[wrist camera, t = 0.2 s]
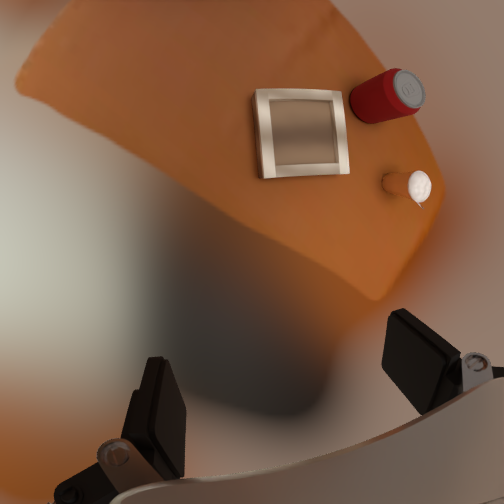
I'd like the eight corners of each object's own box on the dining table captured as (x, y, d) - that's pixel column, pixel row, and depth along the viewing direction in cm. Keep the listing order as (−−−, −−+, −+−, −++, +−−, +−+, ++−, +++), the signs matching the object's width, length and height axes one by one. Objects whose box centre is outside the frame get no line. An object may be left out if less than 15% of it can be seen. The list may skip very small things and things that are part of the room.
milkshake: (374, 195, 42) (412, 202, 32) (382, 165, 41) (421, 165, 31) (394, 204, 43) (432, 213, 33) (402, 175, 42) (441, 179, 32)
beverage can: (389, 114, 38) (436, 102, 27) (363, 131, 39) (409, 121, 27) (367, 80, 37) (410, 59, 25) (339, 95, 37) (380, 74, 25)
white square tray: (251, 97, 35) (256, 88, 31) (329, 98, 37) (341, 91, 33) (259, 178, 39) (264, 178, 35) (337, 173, 40) (349, 173, 36)
